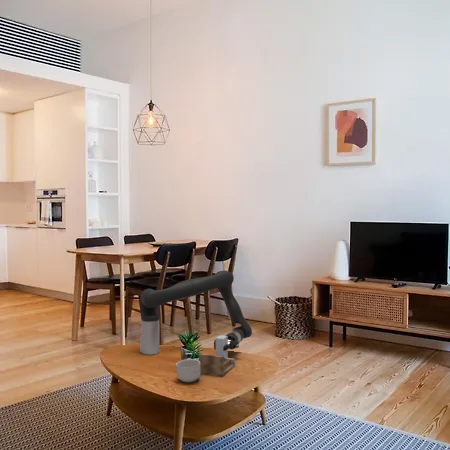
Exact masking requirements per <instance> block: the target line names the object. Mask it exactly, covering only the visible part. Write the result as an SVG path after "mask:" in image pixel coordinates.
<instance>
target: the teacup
mask: <svg viewBox="0 0 450 450" xmlns="http://www.w3.org/2000/svg"><path fill="white" fill-rule="evenodd" d="M175 367H176V369H175V370H176V376H177V378H178V380H180V381H181V382H183V383H194V382H196V381H197V380H198V379H199V377H200V376H201V374H200V361H199V359H195V358H193V359H192V358H189V357H188V358H186V359H182V360H179V361H177V362H176V363H175Z"/></svg>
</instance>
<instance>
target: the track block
mask: <svg viewBox="0 0 450 450" xmlns="http://www.w3.org/2000/svg"><path fill="white" fill-rule="evenodd" d="M198 360H199V361H200V375H208V376H212V377H213V376H215V377H222V378H224V376H226V375H227V374H228V373H229V372H230V371H231V370H233V368H235V367H236V358H230V357H228V358H224V356H218V355H216V354H209V353H198Z"/></svg>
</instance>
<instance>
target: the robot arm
mask: <svg viewBox="0 0 450 450" xmlns="http://www.w3.org/2000/svg"><path fill="white" fill-rule="evenodd" d="M233 283H234V274H233V273H232V272H230V271H229V270H220V271H217V272H216V273H214V274H212V275H209V276H204V277H203V276H201V277H194V278H190V279H186V280H182V281H179V282H177V283H176V284H173V285H171V286H169V287H166V288H163V289H158V290H155V289H152V288H146V289H144V290H142V291H141V293H140V298H139V301H140V303H139V305H140V306H139V307H140V316H141V334H139V353H141V354H143V355H156V354H159V353H160V314H159V309H158V307H160V306H162V305H165V304H168V303H170V302H175V301H179V300H184V299H187V298H191V297H195V296H197V295H201V294H204V293H206V292H209V291H211V290H216V289H218V291H219V293H220V296H221V297H222V300H223V301H224V304H225V307H226V309H227V313H228V315H229V318H230V320H231V323H232V324H237V325H238V324H239V325H240V326H236V327H234V328H233V329H232V331H230V332H228V333H226V334H225V335H224V336H228V343H227V345H225V346H224V347H223V351H226V350H227V349H228V350H235V349H238V348H240V343H241V342H242V341H243V339H247V338H251V336H252V335H253V329H252V327H251V326H250V323H248V321H247V320H246V318H245V317H244V315H243V312H242V309H241V306H240V305H239V303H238V301H237V299H236V298H235V296H234V294H233V292H232V290H231V285H233ZM213 349H214V351H216V338H215V339H214V340H213Z"/></svg>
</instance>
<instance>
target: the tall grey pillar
mask: <svg viewBox="0 0 450 450" xmlns="http://www.w3.org/2000/svg"><path fill="white" fill-rule="evenodd" d="M215 339H216V350H215V355H218V356H224V358H229V357H228V355H229V354H228V353H229V352H228V350H229V349H227V350H226V351H223V347H224V346H225V345H227V343H228V336H225V335H222V334H220V335H218V336H217V337H215Z"/></svg>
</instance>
